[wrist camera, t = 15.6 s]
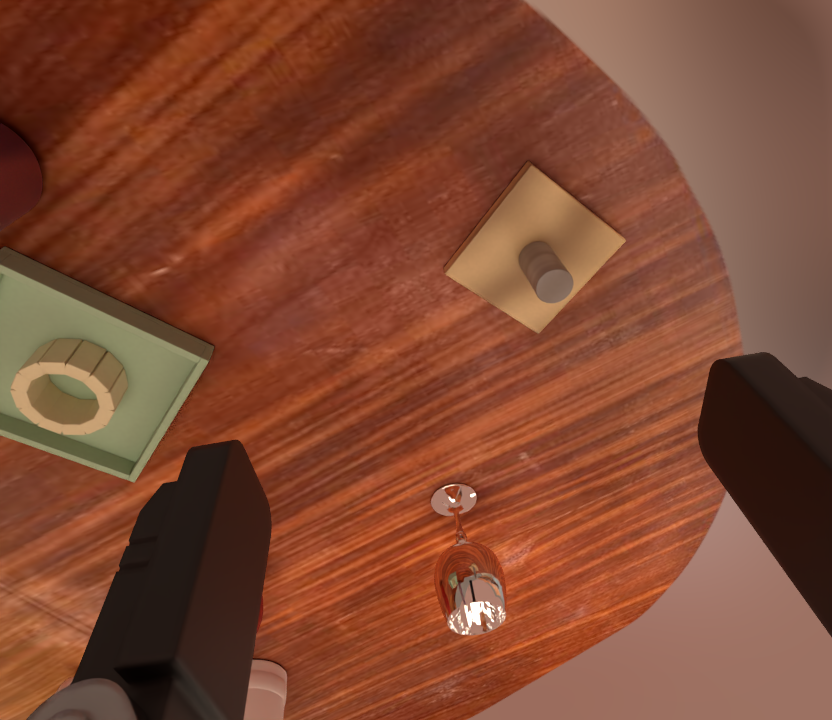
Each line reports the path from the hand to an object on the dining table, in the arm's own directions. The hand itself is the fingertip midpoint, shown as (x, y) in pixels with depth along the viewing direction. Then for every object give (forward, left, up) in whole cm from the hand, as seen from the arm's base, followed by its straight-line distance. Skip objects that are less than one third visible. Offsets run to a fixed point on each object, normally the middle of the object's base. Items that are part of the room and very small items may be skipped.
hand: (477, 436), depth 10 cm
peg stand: (+13, -2, -29) cm, 32 cm away
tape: (-9, -28, -28) cm, 40 cm away
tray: (-9, -28, -29) cm, 41 cm away
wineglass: (+24, -25, -29) cm, 45 cm away
